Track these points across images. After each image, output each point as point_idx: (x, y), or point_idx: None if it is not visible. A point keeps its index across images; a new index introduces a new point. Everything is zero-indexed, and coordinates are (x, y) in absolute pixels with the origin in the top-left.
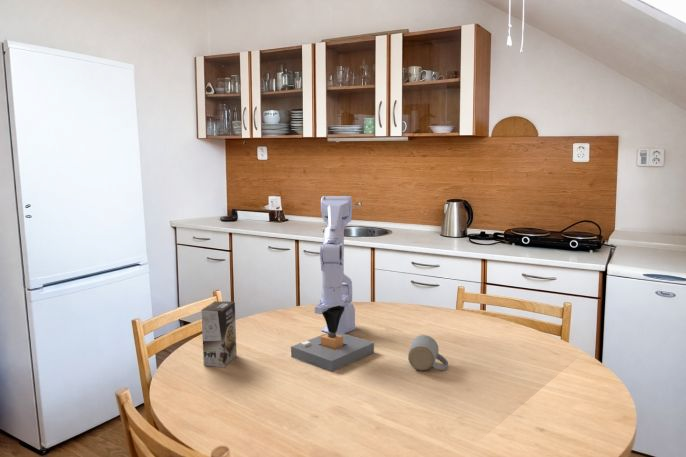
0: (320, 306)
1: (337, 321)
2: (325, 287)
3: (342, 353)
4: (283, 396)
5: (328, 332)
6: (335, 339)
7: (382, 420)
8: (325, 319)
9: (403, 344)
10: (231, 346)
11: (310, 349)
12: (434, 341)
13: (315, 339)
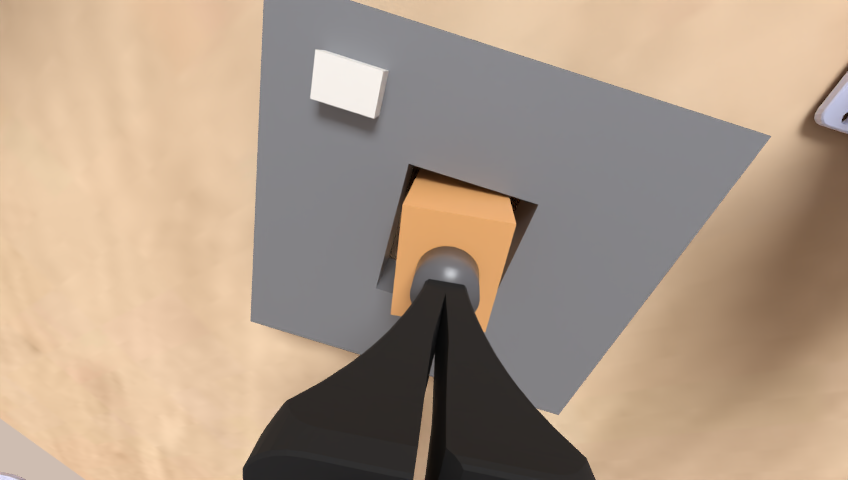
0: None
1: (433, 419)
2: None
3: (355, 334)
4: (4, 218)
5: (413, 282)
6: (401, 313)
7: (149, 458)
8: (378, 345)
9: (683, 443)
10: None
11: (306, 158)
12: None
13: (499, 90)
